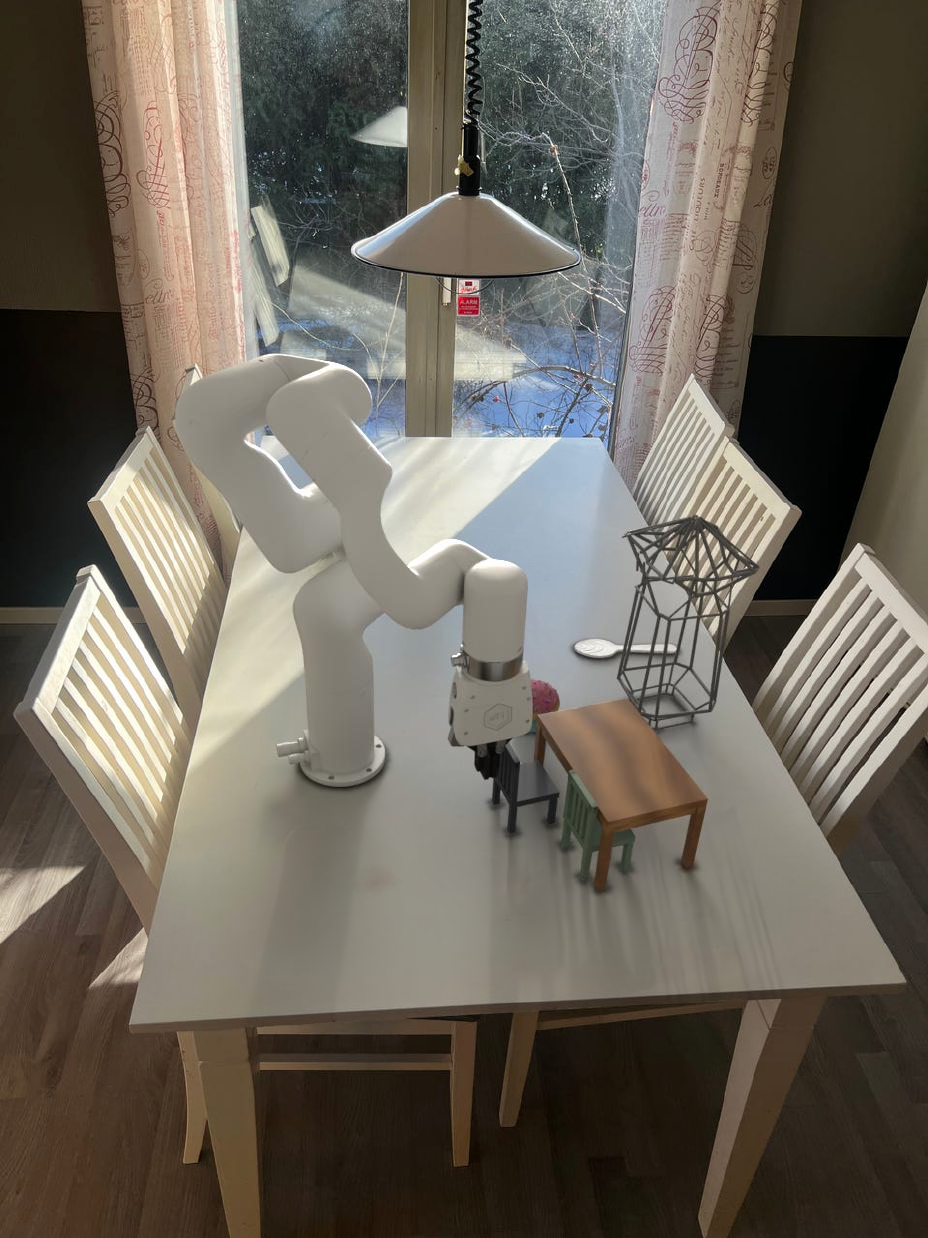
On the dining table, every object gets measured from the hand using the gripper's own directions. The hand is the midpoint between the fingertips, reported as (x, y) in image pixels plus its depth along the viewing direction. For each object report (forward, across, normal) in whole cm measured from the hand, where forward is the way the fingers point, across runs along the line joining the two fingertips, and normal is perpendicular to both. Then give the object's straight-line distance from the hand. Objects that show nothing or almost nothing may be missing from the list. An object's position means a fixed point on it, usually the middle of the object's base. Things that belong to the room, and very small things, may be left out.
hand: (486, 772), depth 131 cm
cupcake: (+9, +14, +19) cm, 26 cm away
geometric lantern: (+10, +36, +15) cm, 40 cm away
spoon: (+9, +38, +33) cm, 52 cm away
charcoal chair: (+9, +6, 0) cm, 11 cm away
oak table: (+9, +17, -5) cm, 20 cm away
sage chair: (+9, +12, -10) cm, 18 cm away
